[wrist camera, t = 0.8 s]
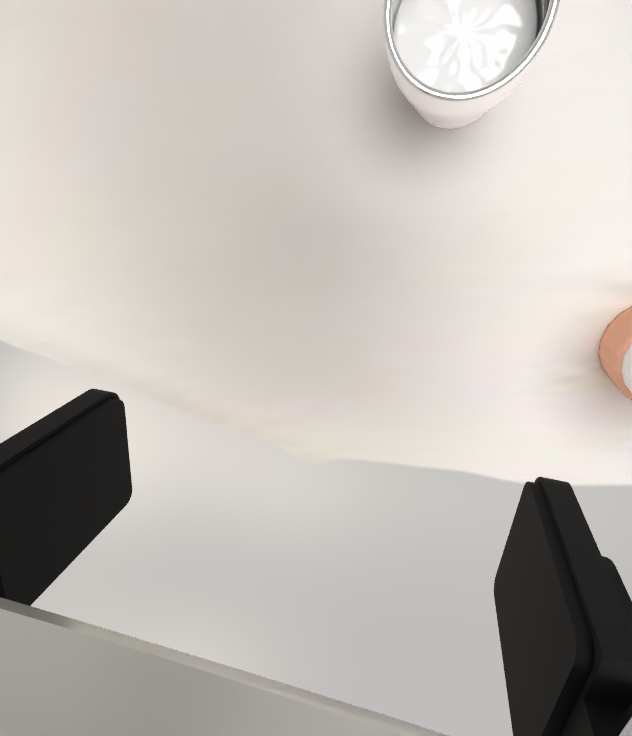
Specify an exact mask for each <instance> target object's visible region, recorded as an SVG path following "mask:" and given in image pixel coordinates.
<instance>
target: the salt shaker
mask: <svg viewBox="0 0 632 736" xmlns="http://www.w3.org/2000/svg"><path fill="white" fill-rule="evenodd" d="M599 357H600V361H601V364H602V368H603V369H604V370H605V372H606V373H607V374H608V376H609V377H610V378H611V380H612V381H613V382H614V383H615V384H616V385H617V387H618V388H619V389H620V390H621V391H622V392H623V394H624V395H625V396H626V397H628V398H629V399H631V400H632V307H631V308H629V309H627V310H625V311H624V312H622V313H620V314H619V315H618V316H617V317H616V318H615V319H614V320H613V321H612V322H611V323H610V324H609V325H608V327H607V329H606V331H605V333H604V335H603V337H602V339H601V342H600V349H599Z"/></svg>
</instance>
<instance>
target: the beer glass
mask: <svg viewBox="0 0 632 736" xmlns="http://www.w3.org/2000/svg"><path fill="white" fill-rule="evenodd" d="M559 1H560V0H384V6H383V27H384V35H385V41H386V50H387V56H388V60H389V64H390V68H391V71H392V74H393V77H394V79H395V81H396V83H397V85H398V87H399V89H400V90H401V92H402V93H403V95H404V96H405V97H406V99H407V100H408V101H409V102H410V103H411V104H412V105H413V106H414V107H415V109H416V111H417V112H418V114H419V115H420V116H421V117H422V118H423V119H424V120H426V121H427V122H428V123H430V124H432V125H434V126H436V127H439V128H444V129H454V128H460V127H463V126H466V125H468V124H471V123H472V122H474V121H476V120H477V119H479V118H480V117H481V116H482V115H483V114H484V113H485V112H486V111H488V110H490V109H491V108H493V107H494V106H496V105H497V104H499V103H500V102H501V101H502V100H503V99H505V98H506V97H507V96H508V95H509V94H510V93H511V92H512V91H513V90H514V89H515V88H516V87H517V86H518V85H519V83H520V82H521V81H522V80H523V78H524V77H525V75H526V74H527V72H528V71H529V69H530V68H531V66H532V65H533V63H534V61H535V60H536V58H537V56H538V54H539V52H540V50H541V47H542V46H543V44H544V42H545V40H546V38H547V36H548V34H549V32H550V30H551V28H552V25H553V23H554V20H555V17H556V13H557V10H558V6H559Z"/></svg>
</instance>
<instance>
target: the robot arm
mask: <svg viewBox="0 0 632 736" xmlns="http://www.w3.org/2000/svg"><path fill="white" fill-rule="evenodd" d="M131 494H132V483H131V472H130V461H129V451H128V439H127V428H126V417H125V407H124V403H123V401H121V400H120V399H119V397H118V395H117V394H116V393H113V392H108V391H103V390H98V389H90V390H88V391H86V392H85V393H83V394H81V395H80V396H78V397H76V398H75V399H73V400H72V401H70V402H68V403H67V404H65V405H63V406H62V407H60V408H58V409H57V410H55V411H53V412H52V413H50V414H49V415H47V416H45V417H44V418H42V419H40V420H39V421H37V422H35V423H34V424H32V425H30V426H29V427H27V428H25V429H24V430H22V431H20V432H19V433H17V434H16V435H14V436H12V437H10V438H9V439H7V440H6V441H4V442H3V443H1V444H0V736H448V735H445V734H442V733H439V732H436V731H433V730H430V729H427V728H424V727H420V726H417V725H414V724H411V723H408V722H405V721H402V720H399V719H396V718H393V717H390V716H387V715H384V714H381V713H378V712H374V711H371V710H368V709H365V708H361V707H358V706H355V705H352V704H349V703H345V702H342V701H339V700H336V699H332V698H329V697H326V696H323V695H320V694H317V693H313V692H310V691H307V690H304V689H301V688H297V687H294V686H291V685H288V684H284V683H281V682H278V681H275V680H271V679H268V678H265V677H262V676H259V675H256V674H252V673H249V672H246V671H243V670H239V669H236V668H232V667H230V666H226V665H223V664H220V663H216V662H213V661H210V660H207V659H203V658H200V657H197V656H194V655H190V654H187V653H184V652H180V651H177V650H174V649H170V648H167V647H164V646H161V645H158V644H154V643H151V642H148V641H144V640H141V639H138V638H134V637H131V636H128V635H125V634H121V633H118V632H115V631H111V630H108V629H105V628H102V627H98V626H95V625H92V624H88V623H85V622H82V621H78V620H75V619H71V618H68V617H65V616H61V615H58V614H55V613H51V612H47V611H45V610H41V609H38V608H34V607H31V606H30V605H31V604H32V603H33V602H34V601H35V600H36V599H37V598H38V597H39V596H40V595H41V594H42V593H43V592H44V591H45V590H46V588H48V587H49V585H50V584H51V583H52V582H53V581H54V580H55V579H56V578H57V577H58V576H59V575H60V574H61V573H62V572H63V571H64V570H65V569H66V568H67V566H68V565H69V564H70V563H71V562H72V561H73V560H74V559H75V558H76V557H77V556H78V555H79V554H80V553H81V552H82V551H83V550H84V549H85V548H86V547H87V546H88V545H89V544H90V543H91V541H92V540H93V539H94V538H95V537H96V536H97V535H98V534H99V533H100V532H101V531H102V530H103V529H104V528H105V527H106V526H107V525H108V524H109V523H110V522H111V520H112V519H113V518H114V517H115V516H116V515H117V514H118V513H119V512H120V511H121V510H122V509H123V508H124V507H125V506H126V505H127V503H128V502H129V500H130V497H131ZM494 597H495V605H496V612H497V619H498V627H499V634H500V641H501V649H502V656H503V664H504V671H505V678H506V686H507V692H508V701H509V707H510V715H511V722H512V730H513V736H632V601H631V599H630V597H629V595H628V593H627V590H626V588H625V586H624V584H623V582H622V579H621V577H620V575H619V573H618V571H617V569H616V567H615V565H614V563H613V562H612V561H611V560H610V559H608V558H607V557H603V556H601V554H600V551H599V549H598V547H597V544H596V542H595V540H594V538H593V535H592V533H591V531H590V529H589V526H588V524H587V521H586V519H585V517H584V515H583V512H582V510H581V508H580V505H579V503H578V501H577V498H576V496H575V494H574V491H573V489H572V487H571V485H570V484H569V483H568V482H564V481H559V480H553V479H548V478H543V477H538V478H537V479H536V480H535V483H533V482H526V484H525V486H524V488H523V491H522V495H521V498H520V501H519V504H518V507H517V510H516V514H515V517H514V520H513V523H512V526H511V529H510V533H509V536H508V539H507V542H506V545H505V549H504V552H503V555H502V558H501V561H500V564H499V567H498V571H497V574H496V577H495V583H494Z"/></svg>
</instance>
